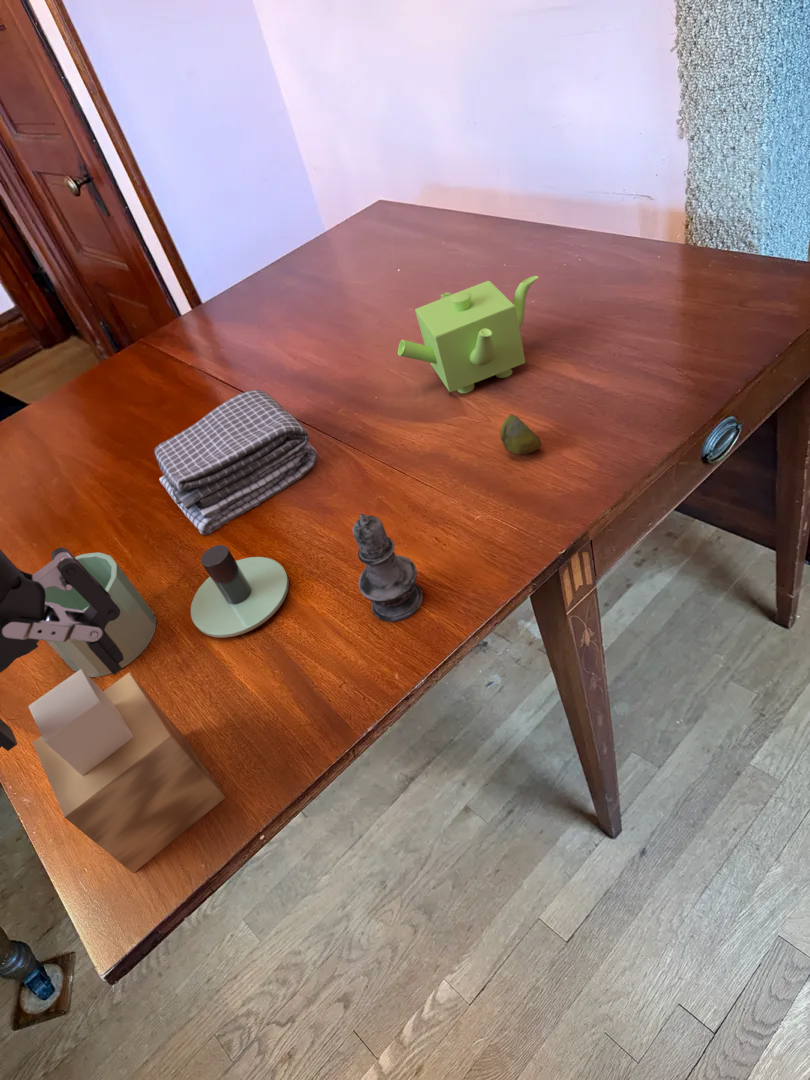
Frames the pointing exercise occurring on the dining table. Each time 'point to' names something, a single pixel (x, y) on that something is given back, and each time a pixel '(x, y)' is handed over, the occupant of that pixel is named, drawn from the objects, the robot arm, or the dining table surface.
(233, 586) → the lid
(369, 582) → the chess piece
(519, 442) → the olive green rock
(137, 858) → the stand
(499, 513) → the dining table surface
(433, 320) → the kettle
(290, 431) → the towel
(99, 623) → the robot arm
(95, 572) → the pot
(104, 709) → the block
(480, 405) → the dining table surface
